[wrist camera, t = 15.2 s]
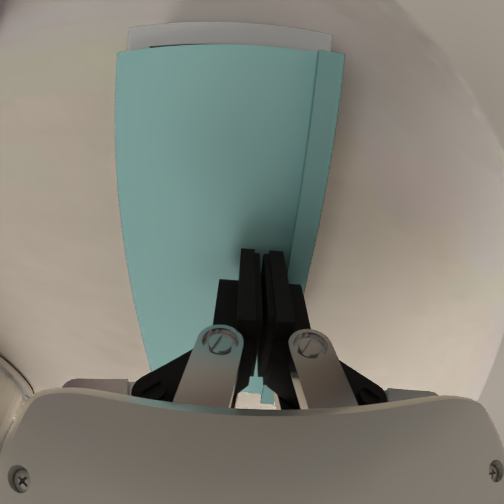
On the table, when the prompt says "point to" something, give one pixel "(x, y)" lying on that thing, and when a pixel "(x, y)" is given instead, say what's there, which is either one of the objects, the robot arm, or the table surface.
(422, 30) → the table surface
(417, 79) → the table surface
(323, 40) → the grey tablet stand
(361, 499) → the robot arm
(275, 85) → the cover
